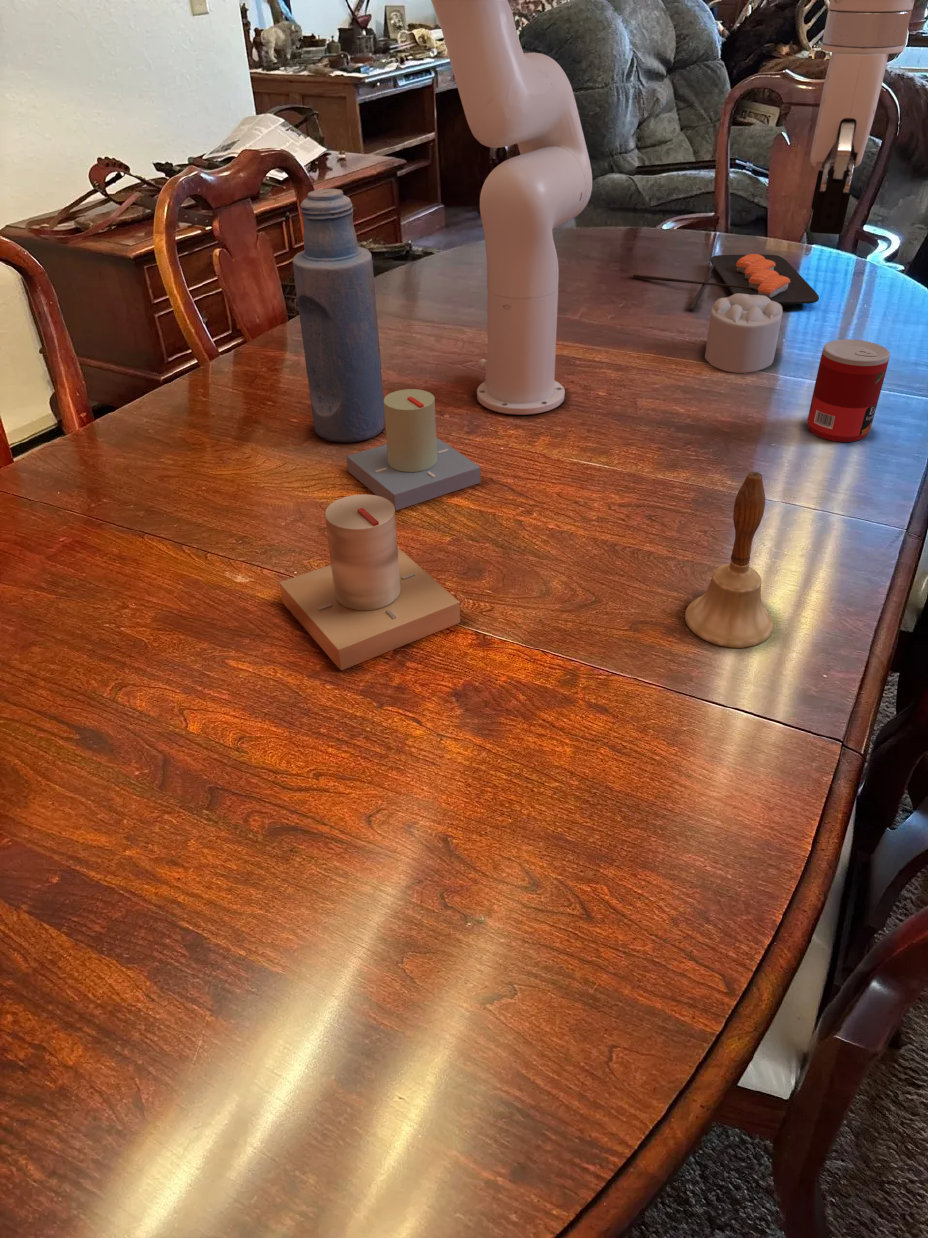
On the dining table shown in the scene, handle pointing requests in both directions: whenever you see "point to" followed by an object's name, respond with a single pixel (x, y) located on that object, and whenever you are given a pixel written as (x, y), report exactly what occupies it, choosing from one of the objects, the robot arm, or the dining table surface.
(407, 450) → the green dial knob
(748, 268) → the sushi plate
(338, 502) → the beige banded cylinder
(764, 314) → the lumpy-topped squat cylinder
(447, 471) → the blue-grey dial base
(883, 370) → the canned food
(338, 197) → the bottle
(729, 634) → the hand bell
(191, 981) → the dining table surface
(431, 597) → the birch turntable
